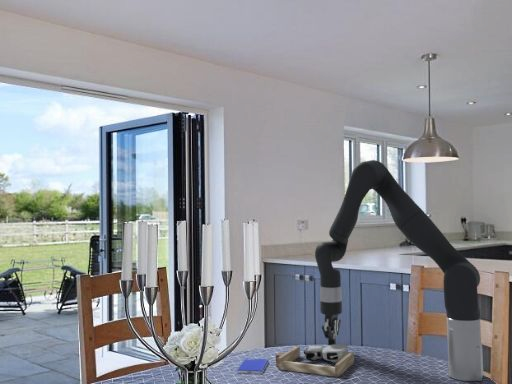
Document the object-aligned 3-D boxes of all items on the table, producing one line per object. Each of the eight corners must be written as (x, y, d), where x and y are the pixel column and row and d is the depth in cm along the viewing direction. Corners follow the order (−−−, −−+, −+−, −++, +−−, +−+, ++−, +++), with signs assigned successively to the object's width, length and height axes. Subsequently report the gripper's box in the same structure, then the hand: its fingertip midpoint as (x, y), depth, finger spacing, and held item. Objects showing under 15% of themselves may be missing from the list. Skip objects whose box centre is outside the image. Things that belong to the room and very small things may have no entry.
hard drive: (244, 358, 178) (236, 369, 166) (268, 359, 177) (262, 370, 165) (244, 363, 178) (236, 374, 166) (268, 363, 177) (262, 375, 165)
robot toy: (299, 365, 175) (345, 366, 170) (298, 352, 175) (343, 351, 170) (309, 355, 186) (352, 355, 181) (308, 342, 187) (350, 342, 182)
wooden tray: (354, 362, 173) (353, 352, 173) (338, 376, 160) (338, 365, 160) (291, 355, 184) (291, 345, 184) (272, 368, 170) (271, 357, 170)
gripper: (334, 303, 178) (336, 355, 178) (347, 296, 190) (348, 345, 189) (313, 302, 181) (314, 353, 181) (327, 295, 193) (328, 343, 193)
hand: (332, 349), depth 185 cm, fingers closed
